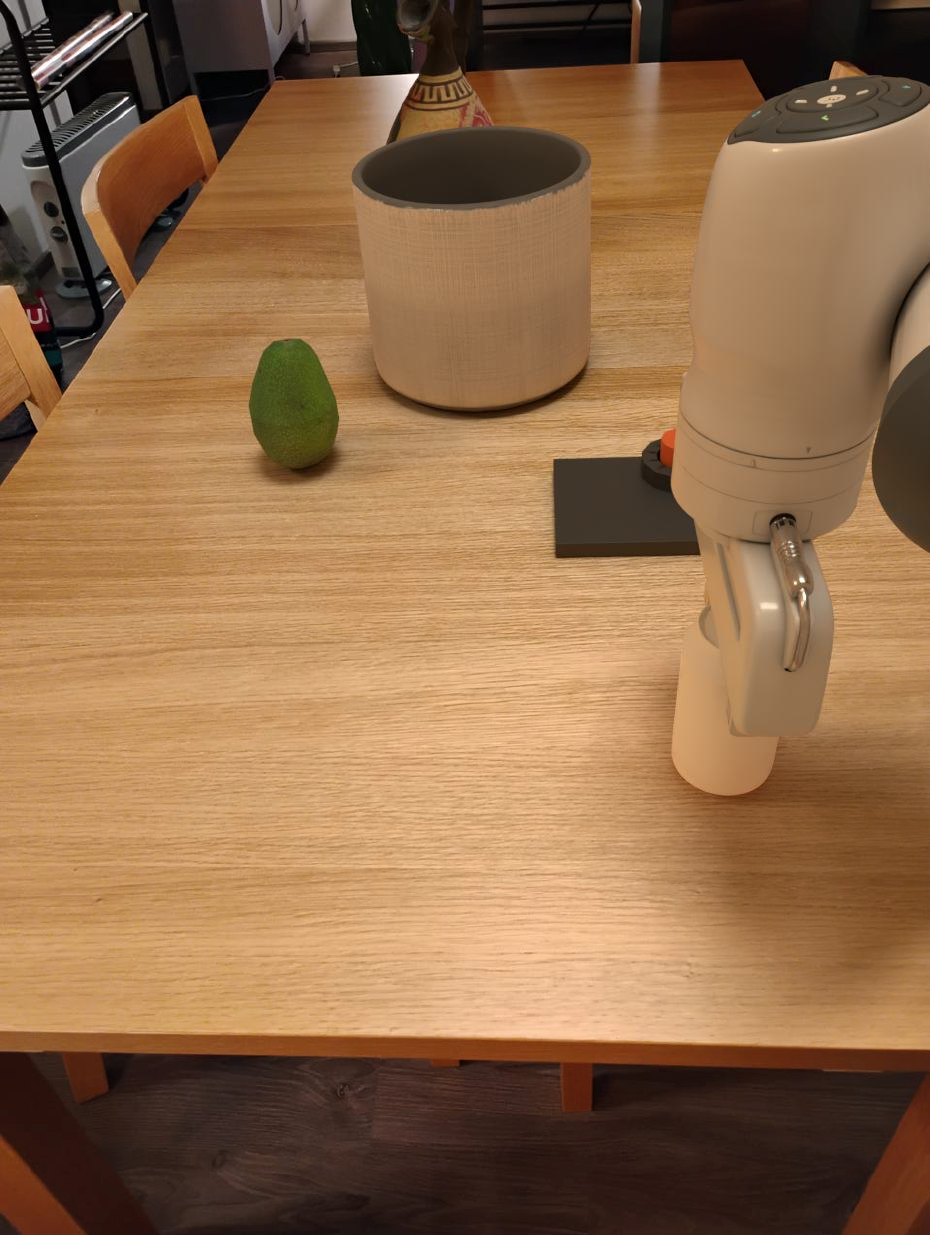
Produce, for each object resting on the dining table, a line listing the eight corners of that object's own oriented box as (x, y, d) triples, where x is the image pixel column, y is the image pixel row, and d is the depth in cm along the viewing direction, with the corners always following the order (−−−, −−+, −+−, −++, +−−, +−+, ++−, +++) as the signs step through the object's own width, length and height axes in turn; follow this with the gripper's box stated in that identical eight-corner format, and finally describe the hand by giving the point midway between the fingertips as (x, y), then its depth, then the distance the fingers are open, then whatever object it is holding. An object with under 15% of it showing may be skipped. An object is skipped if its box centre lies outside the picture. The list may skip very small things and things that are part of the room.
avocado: (363, 457, 92) (344, 337, 84) (295, 495, 88) (268, 373, 80) (310, 428, 96) (287, 311, 88) (243, 463, 92) (213, 343, 84)
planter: (633, 351, 103) (643, 147, 89) (493, 446, 92) (480, 228, 78) (474, 299, 115) (462, 111, 101) (333, 377, 103) (298, 177, 90)
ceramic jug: (470, 280, 119) (450, -12, 98) (365, 259, 125) (327, -18, 105) (538, 228, 129) (533, -46, 109) (438, 212, 135) (416, -49, 115)
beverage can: (650, 752, 64) (661, 614, 56) (725, 713, 66) (748, 574, 58) (713, 820, 60) (736, 681, 52) (792, 776, 62) (826, 635, 54)
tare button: (696, 448, 84) (698, 427, 83) (700, 469, 82) (703, 448, 81) (658, 449, 85) (659, 428, 83) (661, 470, 82) (663, 449, 81)
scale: (708, 464, 87) (711, 434, 85) (729, 554, 78) (733, 523, 76) (553, 468, 88) (553, 439, 86) (555, 557, 79) (555, 527, 77)
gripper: (893, 604, 39) (826, 814, 49) (794, 356, 55) (757, 552, 64) (732, 605, 40) (696, 813, 49) (677, 359, 55) (658, 553, 64)
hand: (730, 664), depth 57 cm, fingers open, 8 cm apart
